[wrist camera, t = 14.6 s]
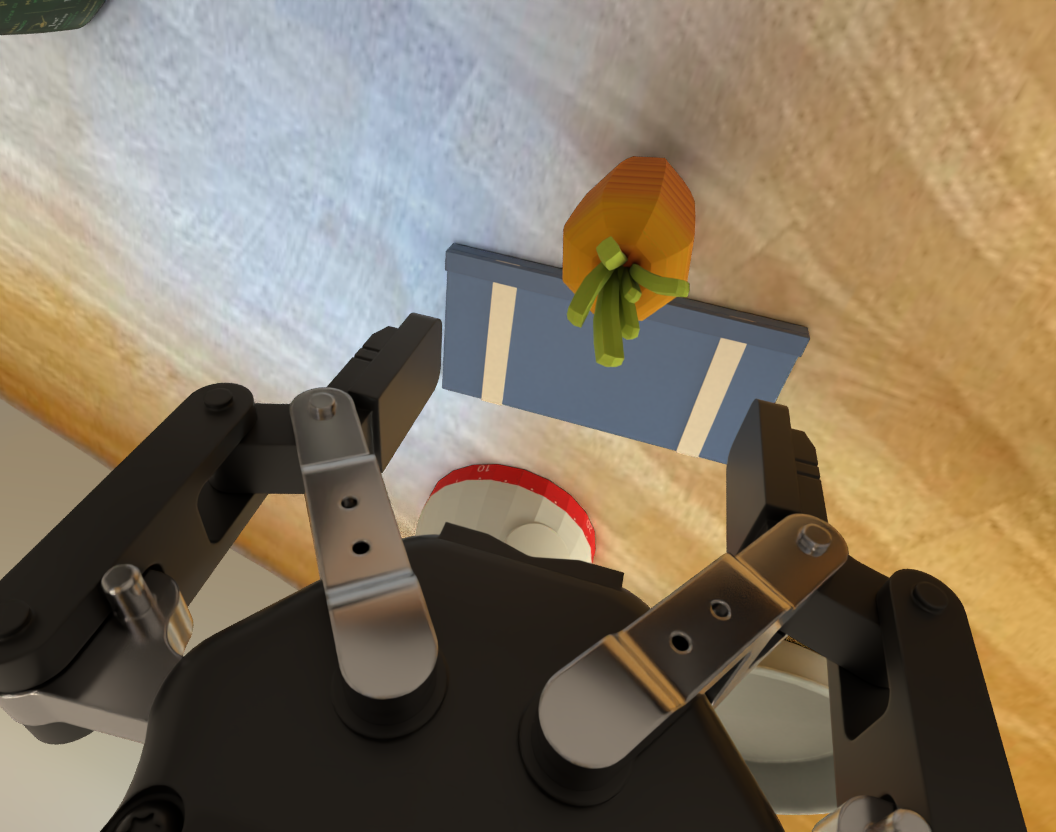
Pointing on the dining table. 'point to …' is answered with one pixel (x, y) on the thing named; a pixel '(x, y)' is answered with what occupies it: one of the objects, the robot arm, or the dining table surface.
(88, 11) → the coffee jar
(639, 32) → the dining table surface
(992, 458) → the dining table surface
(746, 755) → the cake pan
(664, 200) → the carrot
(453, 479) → the kitchen timer
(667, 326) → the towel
